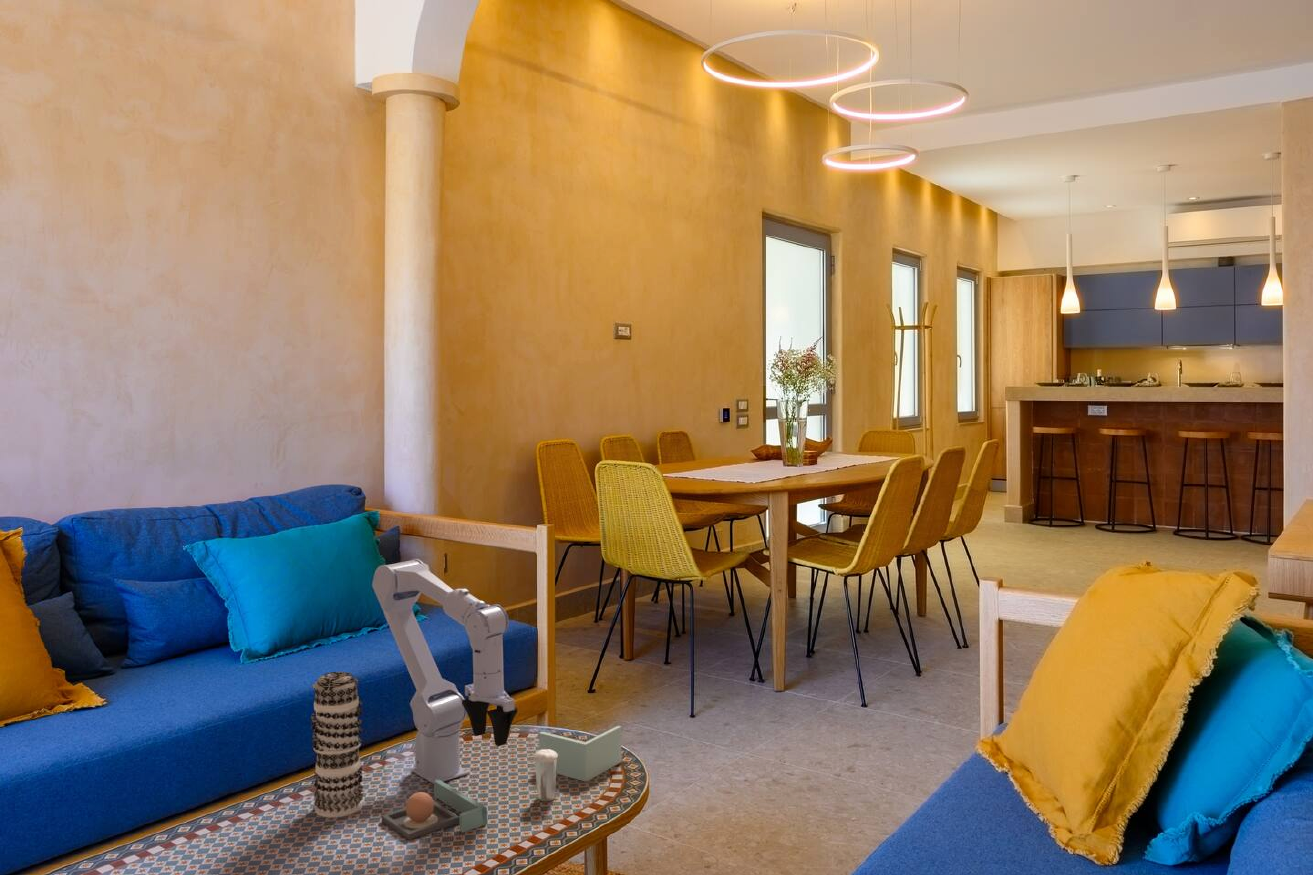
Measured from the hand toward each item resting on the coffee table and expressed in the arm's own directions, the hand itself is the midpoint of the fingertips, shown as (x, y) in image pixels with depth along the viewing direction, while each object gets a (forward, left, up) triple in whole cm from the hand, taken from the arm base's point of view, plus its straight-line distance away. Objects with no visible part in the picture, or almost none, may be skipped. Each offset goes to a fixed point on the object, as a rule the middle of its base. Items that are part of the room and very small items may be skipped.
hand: (490, 739), depth 191 cm
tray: (+4, -17, -10) cm, 20 cm away
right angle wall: (+2, +20, -10) cm, 23 cm away
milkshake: (+11, +6, -10) cm, 16 cm away
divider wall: (+4, -11, -10) cm, 15 cm away
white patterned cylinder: (-12, -25, -10) cm, 30 cm away
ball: (+4, -17, -10) cm, 20 cm away
